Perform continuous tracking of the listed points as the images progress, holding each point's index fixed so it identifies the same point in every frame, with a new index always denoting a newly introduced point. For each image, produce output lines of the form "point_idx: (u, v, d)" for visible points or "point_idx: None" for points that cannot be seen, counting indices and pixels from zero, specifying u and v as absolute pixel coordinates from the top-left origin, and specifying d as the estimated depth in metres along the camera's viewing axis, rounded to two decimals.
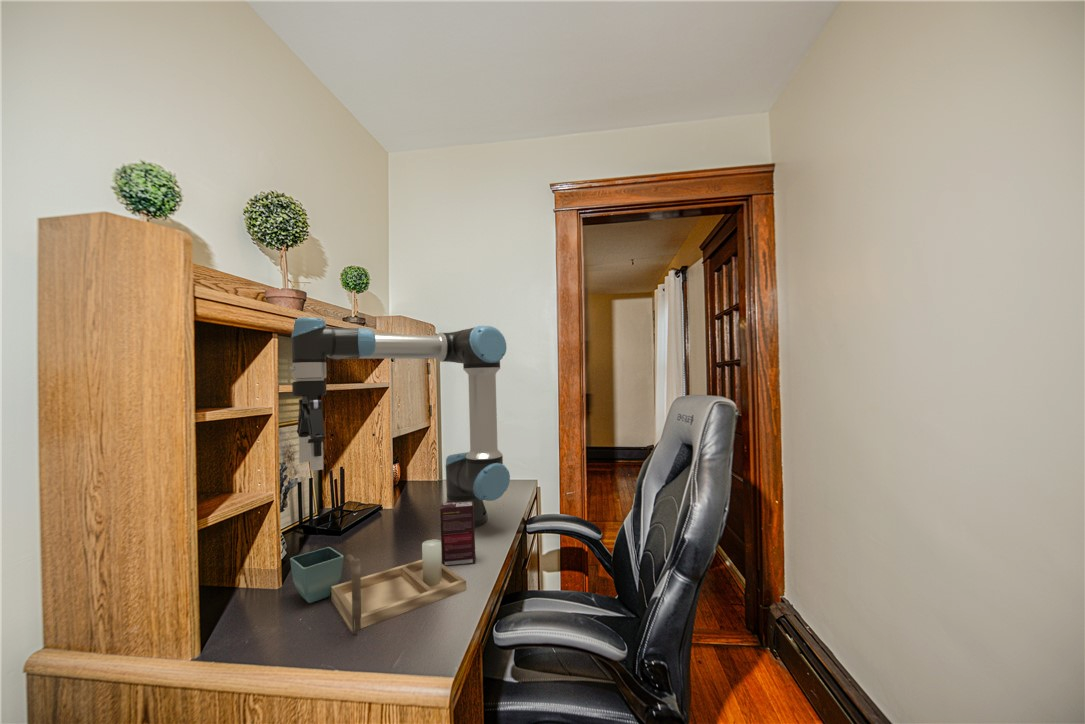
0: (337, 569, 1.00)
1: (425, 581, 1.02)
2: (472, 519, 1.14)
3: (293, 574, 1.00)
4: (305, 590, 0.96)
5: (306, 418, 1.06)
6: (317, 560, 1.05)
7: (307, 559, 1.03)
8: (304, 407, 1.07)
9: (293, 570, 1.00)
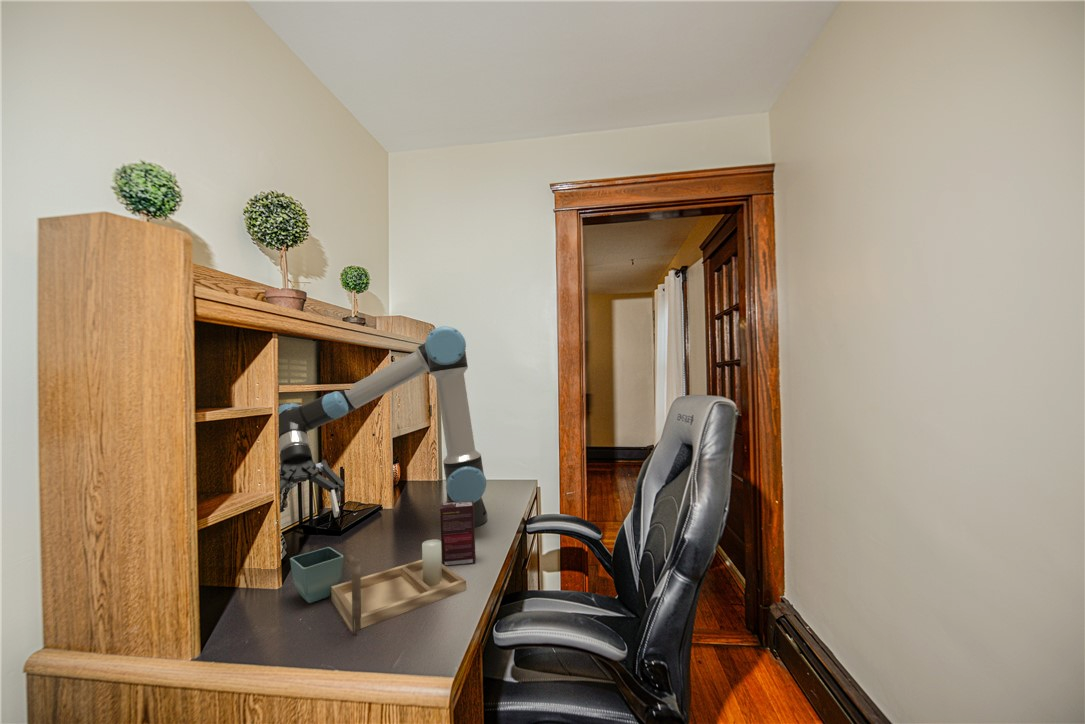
0: (337, 569, 1.00)
1: (425, 581, 1.02)
2: (472, 519, 1.14)
3: (293, 574, 1.00)
4: (305, 590, 0.96)
5: None
6: (317, 560, 1.05)
7: (307, 560, 1.03)
8: None
9: (293, 570, 1.00)
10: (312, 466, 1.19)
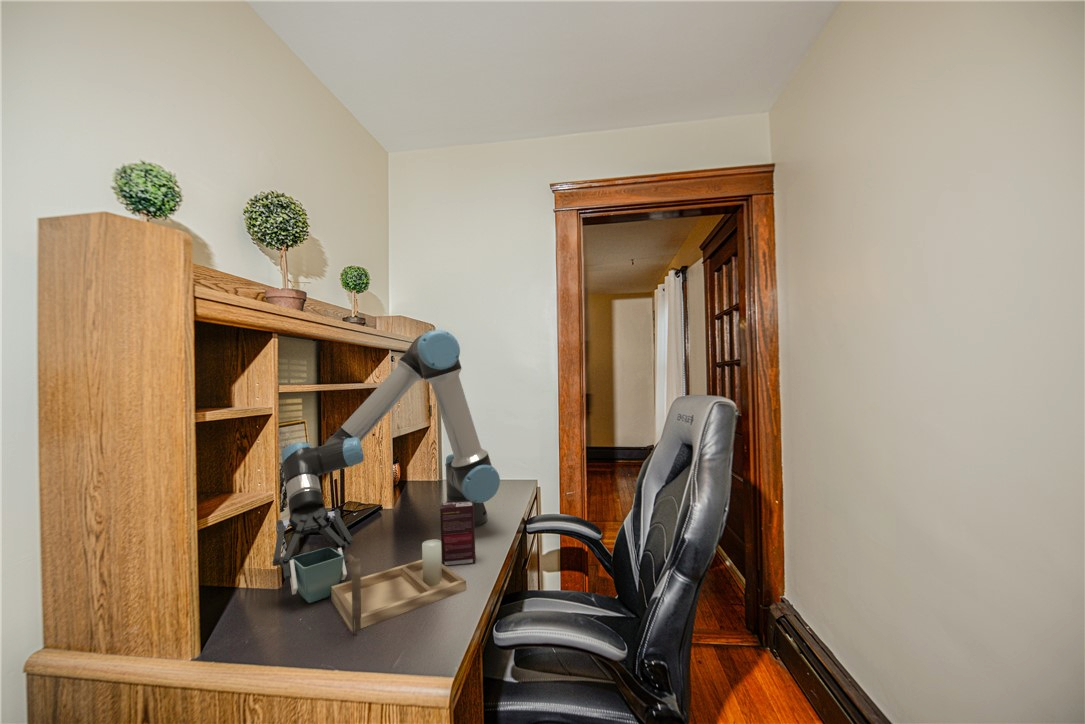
0: (337, 569, 1.00)
1: (425, 581, 1.02)
2: (472, 519, 1.14)
3: None
4: (305, 590, 0.96)
5: None
6: (318, 559, 1.05)
7: (307, 559, 1.03)
8: None
9: None
10: (323, 514, 1.09)
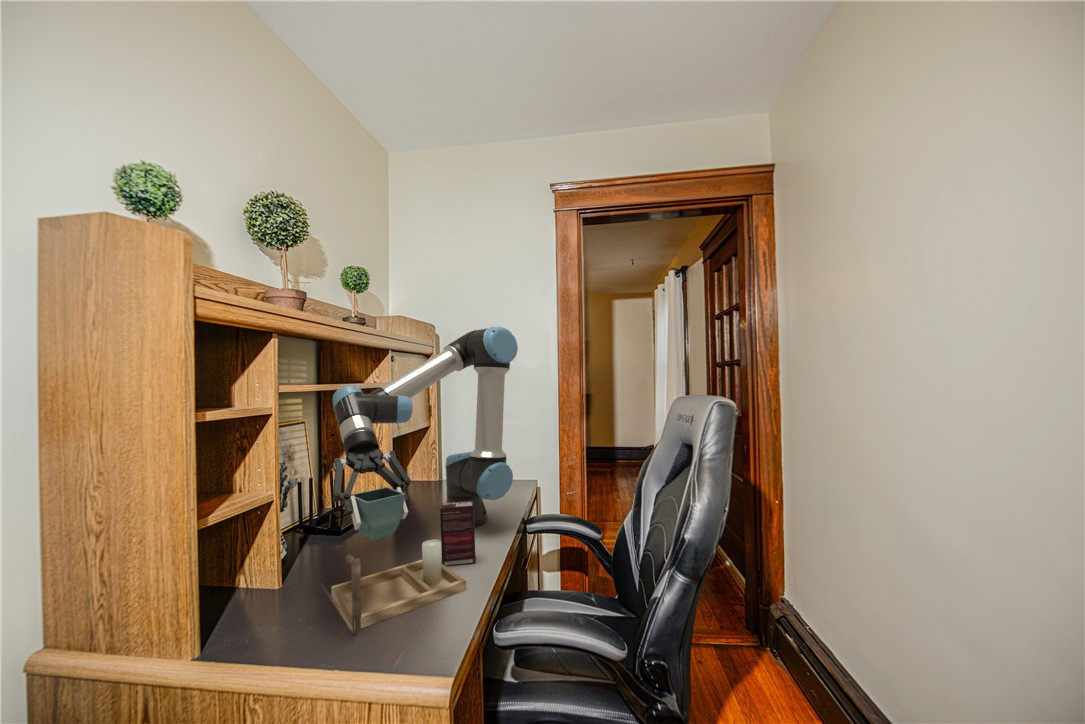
0: (398, 506, 0.97)
1: (425, 581, 1.02)
2: (472, 519, 1.14)
3: None
4: (368, 525, 0.92)
5: None
6: (376, 499, 1.01)
7: (366, 498, 1.00)
8: None
9: None
10: (379, 455, 1.05)
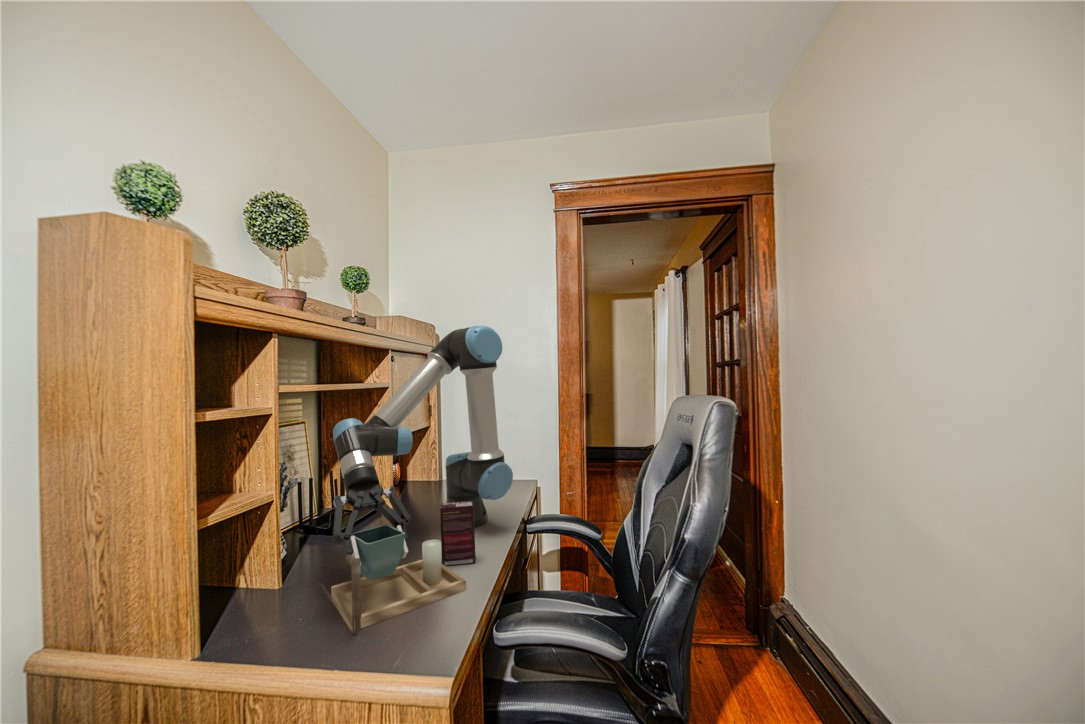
0: (399, 546, 0.96)
1: (425, 581, 1.02)
2: (472, 519, 1.14)
3: None
4: (368, 567, 0.92)
5: None
6: (376, 537, 1.01)
7: (366, 537, 0.99)
8: None
9: None
10: (379, 491, 1.05)
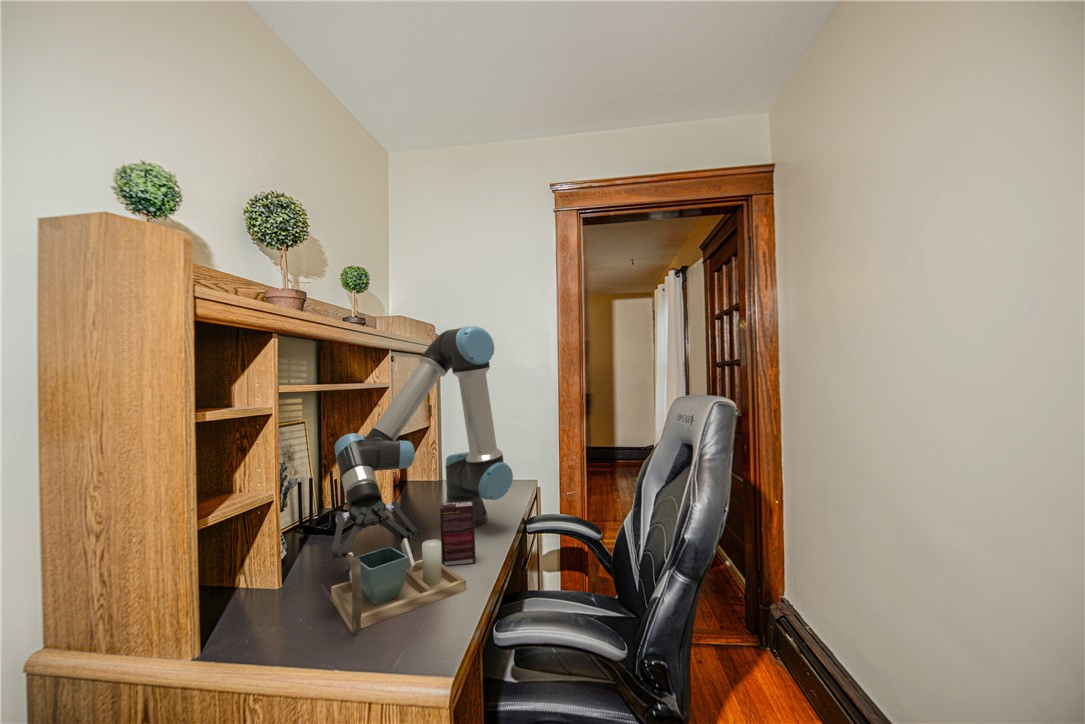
0: (402, 570, 0.96)
1: (425, 581, 1.02)
2: (472, 519, 1.14)
3: None
4: (371, 592, 0.92)
5: None
6: (379, 560, 1.01)
7: (369, 560, 0.99)
8: None
9: None
10: (382, 507, 1.05)
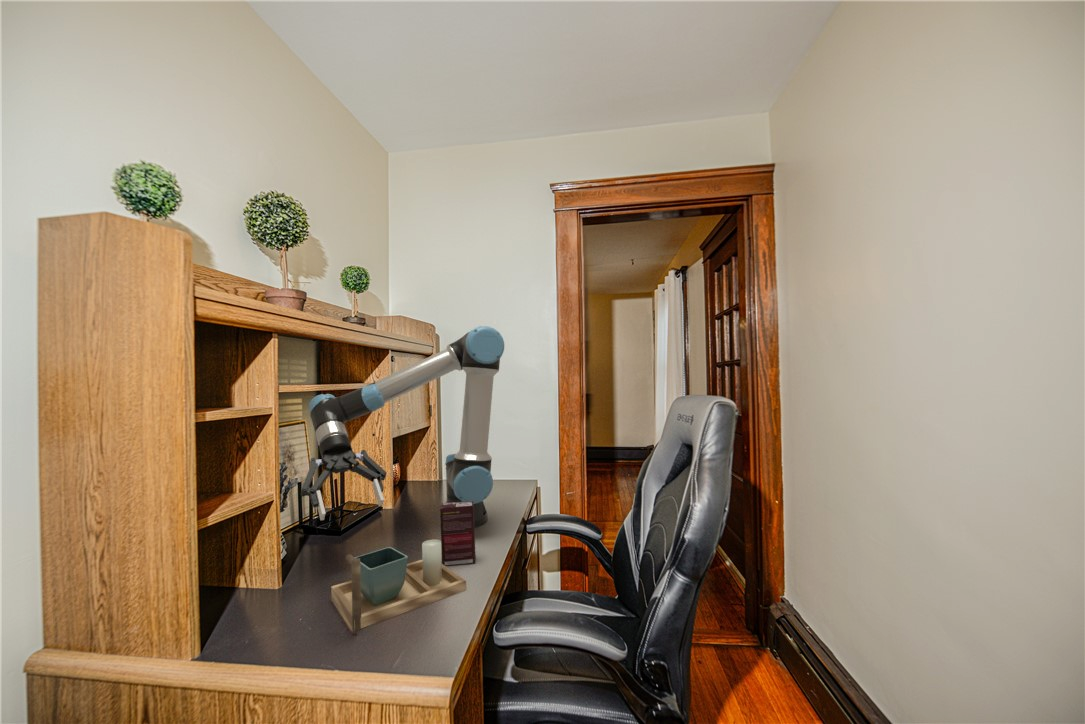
0: (402, 570, 0.96)
1: (425, 581, 1.02)
2: (472, 519, 1.14)
3: None
4: (371, 592, 0.92)
5: None
6: (379, 560, 1.01)
7: (369, 560, 0.99)
8: None
9: None
10: (352, 456, 1.18)
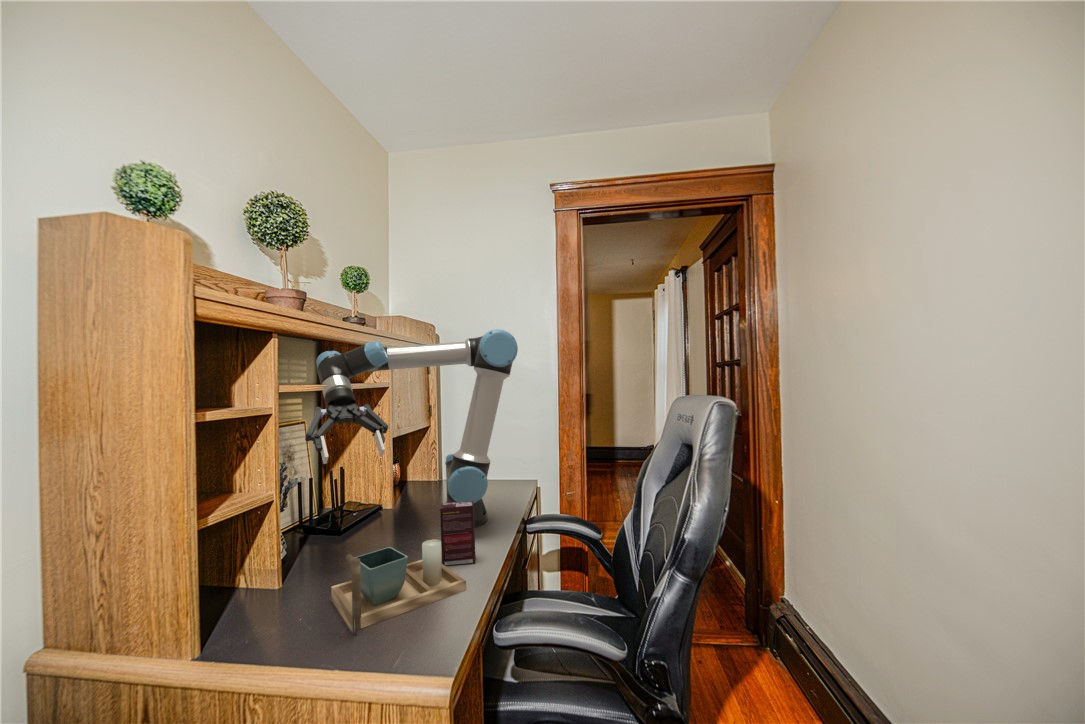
0: (402, 570, 0.96)
1: (425, 581, 1.02)
2: (472, 519, 1.14)
3: None
4: (371, 592, 0.92)
5: None
6: (379, 560, 1.01)
7: (369, 560, 0.99)
8: None
9: None
10: (356, 408, 1.21)
